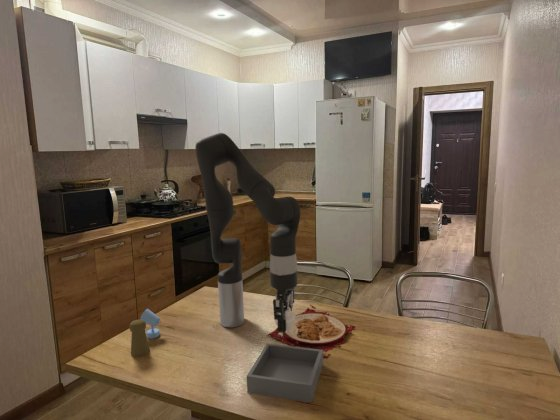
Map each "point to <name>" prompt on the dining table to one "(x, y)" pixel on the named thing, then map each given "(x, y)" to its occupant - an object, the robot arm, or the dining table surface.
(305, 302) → the dining table surface
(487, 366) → the dining table surface
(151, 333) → the spotlight
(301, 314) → the plate with food
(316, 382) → the serving bin
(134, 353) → the olive pepper mill
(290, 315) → the white ribbed rounded piece
